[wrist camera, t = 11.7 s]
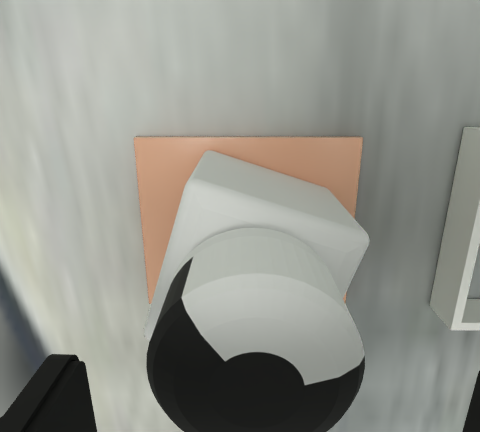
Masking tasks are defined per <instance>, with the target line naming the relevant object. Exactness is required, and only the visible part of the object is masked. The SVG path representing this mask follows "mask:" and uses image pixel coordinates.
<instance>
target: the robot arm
mask: <svg viewBox="0 0 480 432" xmlns="http://www.w3.org/2000/svg"><path fill="white" fill-rule="evenodd" d="M0 432H97V429H96V423H95V417H94V412H93V406H92V400H91V394H90V389H89V383H88V377H87V371H86V366H85V363H84V362H83V361H79V359H78V357H77V356H76V355H62V354H52V355H49V356H48V357H47V358H46V360H45V361H44V362H43V364H42V365H41V366H40V368H39V369H38V370H37V372H36V373H35V374H34V376H33V377H32V378H31V380H30V381H29V382H28V384H27V385H26V386H25V388H24V389H23V390H22V392H21V393H20V394H19V396H18V397H17V398H16V400H15V401H14V402H13V404H12V405H11V406H10V408H9V409H8V410H7V412H6V413H5V414H4V416H2V417H1V418H0ZM463 432H480V371H479V373H478V377H477V380H476V384H475V388H474V391H473V395H472V399H471V402H470V406H469V410H468V413H467V417H466V421H465V425H464V428H463Z"/></svg>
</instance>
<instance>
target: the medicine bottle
mask: <svg viewBox="0 0 480 432" xmlns="http://www.w3.org/2000/svg"><path fill="white" fill-rule="evenodd" d="M369 242H370V238H369V236H368V234H367V233H366V231H365V230H364V229H363V228H362V227H361V226H360V225H359V223H358V222H357V221H356V220H355V219H354V218H353V217H352V215H351V214H350V213H349V212H348V211H347V210H346V209H345V207H344V206H343V205H342V204H341V203H340V202H339V201H338V199H337V198H336V197H335V196H334V195H333V194H332V193H331V191H330V190H329V189H327V188H325V187H322V186H319V185H316V184H313V183H310V182H307V181H304V180H301V179H298V178H295V177H292V176H288V175H285V174H282V173H279V172H276V171H273V170H270V169H267V168H264V167H261V166H258V165H255V164H252V163H249V162H246V161H243V160H239V159H236V158H233V157H230V156H227V155H224V154H221V153H218V152H215V151H212V150H208V151H206V152H204V154H203V156H202V157H201V159H200V161H199V162H198V164H197V166H196V168H195V169H194V171H193V173H192V174H191V176H190V178H189V179H188V181H187V183H186V184H185V187H184V191H183V194H182V198H181V201H180V205H179V208H178V212H177V215H176V219H175V222H174V226H173V229H172V233H171V236H170V240H169V243H168V247H167V250H166V254H165V257H164V261H163V264H162V268H161V271H160V275H159V278H158V282H157V285H156V289H155V292H154V296H153V299H152V303H151V306H150V310H149V313H148V317H147V320H146V324H145V327H144V337H145V338H146V339H147V340H149V341H150V342H149V347H148V352H147V374H148V380H149V383H150V386H151V389H152V392H153V394H154V396H155V398H156V400H157V402H158V403H159V405H160V406H161V407H162V409H163V410H164V412H165V413H166V414H167V415H168V417H169V418H170V419H171V420H172V421H173V422H174V423H175V424H176V425H177V426H178V427H179V428H180V429H181V430H183V431H184V432H327V431H328V430H329V429H330V428H332V427H333V426H334V425H335V424H336V423H337V422H338V421H339V420H340V419H341V418H342V416H343V415H344V414H345V412H346V411H347V410H348V408H349V407H350V405H351V404H352V402H353V400H354V399H355V397H356V395H357V393H358V391H359V388H360V385H361V383H362V380H363V374H364V369H365V354H364V348H363V343H362V340H361V337H360V334H359V331H358V329H357V327H356V325H355V323H354V321H353V319H352V317H351V315H350V313H349V311H348V308H347V306H346V304H345V302H344V300H343V298H344V296H345V294H346V291H347V289H348V287H349V285H350V283H351V281H352V279H353V277H354V275H355V273H356V271H357V269H358V266H359V264H360V262H361V260H362V258H363V256H364V254H365V252H366V250H367V248H368V246H369Z"/></svg>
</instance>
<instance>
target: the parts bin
mask: <svg viewBox="0 0 480 432" xmlns="http://www.w3.org/2000/svg"><path fill="white" fill-rule="evenodd" d="M479 244H480V127H464V129H463V135H462V140H461V145H460V150H459V155H458V160H457V166H456V171H455V176H454V181H453V186H452V191H451V197H450V202H449V207H448V212H447V217H446V222H445V228H444V233H443V238H442V243H441V248H440V253H439V258H438V264H437V269H436V274H435V279H434V284H433V289H432V295H431V300H430V305H429V306H430V307H431V308H432V309H433V310H434V312H435V313H436V314H437V315H438V316H439V317H440V319H441V320H442V321H443V322H444V323H445V324H446V325H447V327H448V328H449V329H450V330H480V299H467V296H468V292H469V287H470V283H471V279H472V274H473V270H474V266H475V261H476V257H477V253H478V248H479Z"/></svg>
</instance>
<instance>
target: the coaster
mask: <svg viewBox="0 0 480 432" xmlns="http://www.w3.org/2000/svg"><path fill="white" fill-rule="evenodd" d="M362 144H363V138H362V137H360V136H136V137H134V147H135V157H136V168H137V179H138V190H139V200H140V211H141V222H142V233H143V243H144V254H145V265H146V276H147V286H148V297H149V304H151V303H152V299H153V296H154V292H155V289H156V285H157V282H158V278H159V275H160V271H161V268H162V264H163V261H164V257H165V254H166V250H167V247H168V243H169V240H170V236H171V233H172V229H173V226H174V222H175V219H176V215H177V212H178V208H179V205H180V201H181V198H182V194H183V191H184V187H185V184H186V183H187V181H188V179H189V178H190V176H191V174H192V173H193V171H194V169H195V168H196V166H197V164H198V162H199V161H200V159H201V157H202V156H203V154H204V152H206V151H208V150H212V151H215V152H218V153H221V154H224V155H227V156H230V157H233V158H236V159H239V160H243V161H246V162H249V163H252V164H255V165H258V166H261V167H264V168H267V169H270V170H273V171H276V172H279V173H282V174H285V175H288V176H292V177H295V178H298V179H301V180H304V181H307V182H310V183H313V184H316V185H319V186H322V187H325V188H327V189H329V190H330V191H331V193H332V194H333V195H334V196H335V197H336V198H337V199H338V201H339V202H340V203H341V204H342V205H343V206H344V207H345V209H346V210H347V211H348V212H349V213H350V214H351V215H352V217H353V218H354V219H355V209H356V200H357V191H358V181H359V172H360V163H361V153H362ZM346 293H347V291H346ZM343 300H344V302H346V294H345V296H344V298H343Z"/></svg>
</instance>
